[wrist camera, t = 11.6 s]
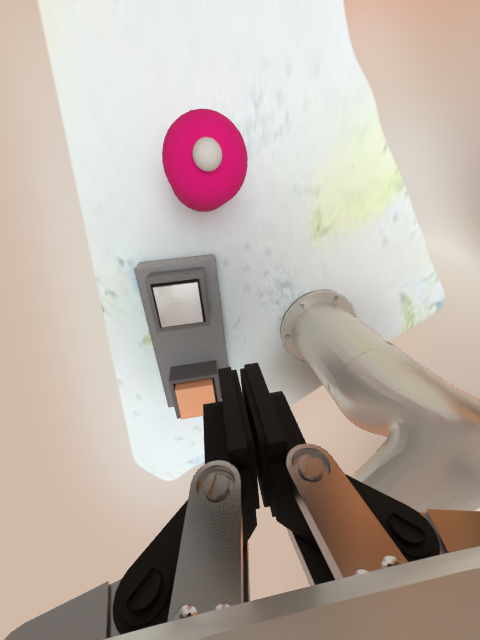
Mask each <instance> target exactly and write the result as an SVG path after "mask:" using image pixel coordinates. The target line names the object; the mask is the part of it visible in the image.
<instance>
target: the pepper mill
mask: <svg viewBox="0 0 480 640" xmlns="http://www.w3.org/2000/svg"><path fill="white" fill-rule="evenodd" d="M162 158H163V166H164V171H165V174H166V176H167V179H168V181H169V183H170V185H171V187H172V189H173V191H174V193H175V195H176V196H177V198H178V199H179V200H180V201H181V202H182V203H183V204H184V205H186V206H187V207H189V208H191V209H193V210H197V211H211V210H214V209H217V208H218V207H220V206H221V205H223V204H224V203H226V202H228V201H229V200H230V199H232V198H233V197H234V196H235V195H236V194H237V192H238V191H239V190H240V188H241V186H242V184H243V182H244V179H245V176H246V171H247V151H246V147H245V144H244V140H243V138H242V136H241V134H240V132H239V131H238V129H237V128H236V127H235V125H234V124H233V123H232V122H231V121H230V120H229V119H228V118H227V117H225V116H224V115H222V114H220V113H218V112H217V111H213V110H210V109H197V110H191V111H189V112H187V113H185V114H183V115H181V116H180V117H179V118H178V119H176V120H175V122H174V123H173V124H172V125H171V127H170V128H169V130H168V132H167V134H166V136H165V139H164V144H163V152H162Z"/></svg>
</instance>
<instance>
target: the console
mask: <svg viewBox="0 0 480 640" xmlns="http://www.w3.org/2000/svg"><path fill="white" fill-rule="evenodd" d="M134 271H135V275H136V279H137V283H138V287H139V291H140V295H141V299H142V303H143V307H144V311H145V315H146V319H147V323H148V327H149V331H150V335H151V339H152V343H153V347H154V351H155V355H156V359H157V363H158V367H159V371H160V375H161V379H162V383H163V387H164V391H165V395H166V399H167V403H168V407H175V411H176V415H177V419H178V418H181V415H180V411H179V406H178V402H177V398H176V393H175V386H176V383H182V382H189V381H195V380H201V379H208V378H213V385H214V391H215V398H216V402H220V401H221V399H222V397H221V390H220V382H219V374H218V369H220V368H227V367H228V363H227V354H226V346H225V337H224V329H223V321H222V312H221V304H220V296H219V287H218V279H217V270H216V262H215V258H214V255H213V254H212V255H203V256H194V257H185V258H176V259H167V260H158V261H149V262H140V263H139V264H138V265H137V266H136V268H135V269H134ZM191 279H198V284H199V291H200V297H201V304H202V310H203V322H199V323H191V324H184V325H177V326H169V327H162V326H161V322H160V317H159V313H158V309H157V304H156V300H155V295H154V291H153V286H154V284H157V283H165V282H174V281H182V280H191Z"/></svg>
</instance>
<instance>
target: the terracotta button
mask: <svg viewBox="0 0 480 640" xmlns="http://www.w3.org/2000/svg"><path fill="white" fill-rule="evenodd" d="M175 393H176V398H177V402H178V406H179V411H180V415H181V419H186V418H192V417H198V416H203V404H208V403H214V402H216V398H215V391H214V385H213V378H208V379H201V380H195V381H189V382H182V383H176V386H175Z"/></svg>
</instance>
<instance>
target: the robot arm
mask: <svg viewBox="0 0 480 640" xmlns="http://www.w3.org/2000/svg"><path fill="white" fill-rule="evenodd" d="M333 297H334V298H333ZM300 304H301V305H300ZM286 334H287V335H286ZM281 336H282V341H283V343H284V345H285V347H286V348H287V350H288V351H289V352H290V353H291V355H293V356H294V357H296V358H298V359H300V360H303V361H307V362H308V364H309V365H310V366H311V368H312V369H313V371H314V372H315V374H316V375H317V377H318V378H319V379H320V381H321V382H322V384H323V385H324V387H325V388H326V389H327V391H328V392H329V394H330V395H331V397H332V398H333V400H334V401H335V402H336V404H337V405H338V407H339V408H340V410H341V411H342V412H343V414H344V415H345V416H346V417H347V418H348V419H349V420H350V421H351V422H352V423H353V424H355V425H356V426H358V427H359V428H361V429H363V430H366V431H368V432H371V433H374V434H378V435H382V436H386V437H388V438H387V440H386V441H385V442H384V444H382V446H381V447H380V448H379V449H378V450H377V451H376V453H375V454H374V455H373V456H372V457H371V458H370V459H369V460H368V461H367V462H366V463H365V464H364V465H363V466H362V467H361V468H360V469H359V470H358V471H356V472H355V474H354V475H352V476H351V477H350V476H348V475H346V474H344V473H343V471H342V470H341V469H340V467H339V466H338V464H337V463H336V462H335V460H334V459H333V457H332V456H331V455H330V454H329V453H328V452H327V451H326V450H324V449H323V448H321V447H320V446H317V445H313V444H306V442H305V440H304V438H303V435H302V433H301V431H300V429H299V427H298V424H297V422H296V420H295V418H294V416H293V414H292V412H291V409H290V407H289V405H288V402H287V400H286V398H285V396H284V394H283V392H282V391H280V392H274V393H269V391H268V388H267V386H266V383H265V380H264V378H263V375H262V372H261V370H260V367H259V365H258V363H253V364H246V365H245V368H243V369H240V374H241V384H242V391H241V387H240V383H239V379H238V375H237V370H231V367H227V368H220V369H218V374H219V382H220V390H221V397H222V401H220V402H214V403H208V404H203V419H204V449H205V465H203V466H202V467H201V468H200V469H198V470H197V472H196V474H195V475H194V476H193V479H192V482H191V486H190V492H189V498H188V500H187V501H186V503H185V504H184V505H183V506H182V507H181V508H180V509H179V511H178V512H177V513H176V514H175V515H174V516H173V518H172V519H171V520H170V521H169V522H168V524H167V525H166V526H165V527H164V528H163V529H162V531H161V532H160V533H159V534H158V535H157V536H156V538H155V539H154V540H153V541H152V542H151V543H150V545H149V546H148V547H147V548H146V549H145V551H144V552H143V553H142V554H141V555H140V556H139V558H138V559H137V560H136V561H135V562H134V564H133V565H132V566H131V567H130V568H129V569H128V571H127V572H126V574H125V575H124V577H123V578H122V579H120V580H119V581H116V582H114V583H112V584H111V585H110V584H109V582H106V583H104V584H102V585H100V586H98V587H96V588H94V589H92V590H90V591H88V592H86V593H84V594H82V595H80V596H78V597H76V598H74V599H72V600H70V601H68V602H66V603H64V604H62V605H60V606H58V607H56V608H54V609H52V610H50V611H48V612H46V613H44V614H42V615H40V616H38V617H36V618H34V619H32V620H30V621H28V622H26V623H24V624H23V625H21V626H20V627H18V628H17V629H15V630H14V631H12V632H11V633H10V634H9V635H8V636H7V637H6V638H5V639H4V640H480V400H479V399H477V398H475V397H473V396H471V395H470V394H468V393H466V392H464V391H462V390H460V389H459V388H457V387H455V386H453V385H451V384H450V383H448V382H447V381H445V380H443V379H442V378H440V377H439V376H437V375H435V374H434V373H432V372H431V371H430V370H428V369H427V368H425V367H424V366H422V365H421V364H419V363H418V362H416V361H414V360H413V359H412V358H411V357H409V356H408V355H406V354H405V353H404V352H402V351H401V350H400V349H398V348H397V347H395V346H394V345H392V344H391V343H390V342H388V341H387V340H386V339H384V338H383V337H382V336H380V335H379V334H377V333H376V332H375V331H373V330H372V329H371V328H369V327H368V326H366V325H365V324H364V323H362V322H361V321H359V320H358V319H357V318H356V314H355V310H354V308H353V306H352V304H351V303H350V302H349V301H348V299H346V298H345V297H343V296H342V295H340V294H338V293H336V292H333V291H326V290H322V291H315V292H312V293H309V294H307V295H305V296H303V297H301V298H300V299H298V300H297V301H296V302H295V303H294V304H293V305H292V306H291V307H290V308H289V310H288V311H287V313H286V314H285V317H284V319H283V322H282V326H281ZM257 477H258V482H259V486H260V491H261V495H262V499H263V504H264V507H269V506H270V508H271V512H272V517H275V516H276V520H277V521H278V522H279V523H281V524H282V525H284V526H285V527H286V528H287V529H288V533H289V536H290V539H291V541H292V543H293V546H294V548H295V551H296V553H297V555H298V558H299V560H300V562H301V565H302V567H303V570H304V572H305V574H306V577H307V579H308V582H309V584H310V587H306V588H302V589H298V590H294V591H290V592H286V593H282V594H278V595H274V596H270V597H266V598H262V599H258V600H254V601H250V587H249V547H248V539H249V538H250V536H251V535H252V533H253V531H254V529H255V528H256V526H257V519H256V509H259V508H260V506H259V494H258V482H257Z"/></svg>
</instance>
